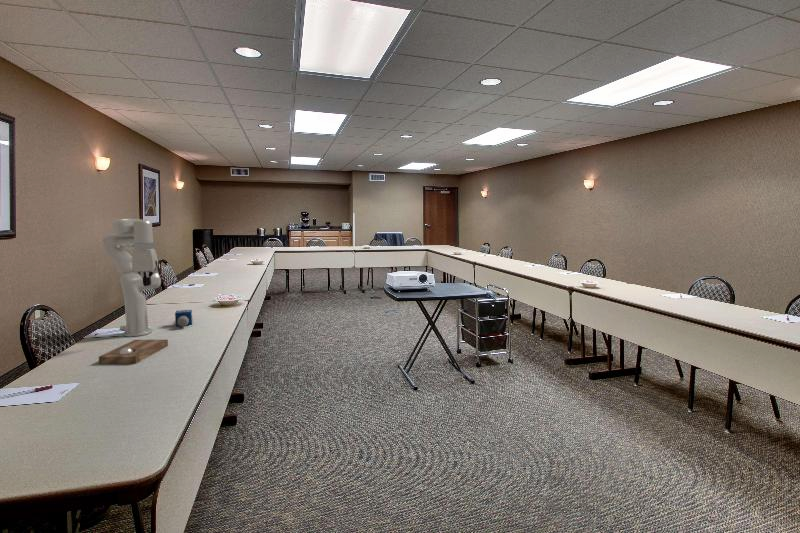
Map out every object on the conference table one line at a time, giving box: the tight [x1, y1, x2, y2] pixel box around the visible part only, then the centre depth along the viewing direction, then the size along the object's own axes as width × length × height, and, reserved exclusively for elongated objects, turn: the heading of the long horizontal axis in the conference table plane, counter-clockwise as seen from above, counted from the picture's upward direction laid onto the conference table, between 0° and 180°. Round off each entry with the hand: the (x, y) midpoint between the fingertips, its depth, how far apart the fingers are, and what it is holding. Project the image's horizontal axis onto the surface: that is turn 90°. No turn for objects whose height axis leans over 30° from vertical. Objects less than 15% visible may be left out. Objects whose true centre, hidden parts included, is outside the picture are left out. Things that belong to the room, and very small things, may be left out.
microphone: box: [174, 309, 193, 328], centre depth 237 cm, size 8×8×25 cm
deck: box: [98, 339, 169, 365], centre depth 184 cm, size 15×24×3 cm, turn 0°
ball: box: [119, 347, 133, 354], centre depth 178 cm, size 5×5×5 cm
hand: (147, 285), depth 201 cm, fingers closed
